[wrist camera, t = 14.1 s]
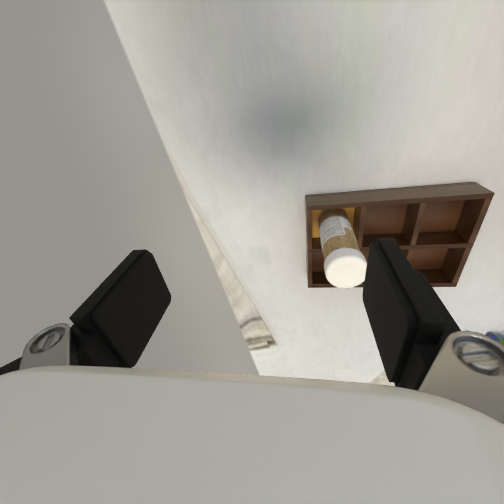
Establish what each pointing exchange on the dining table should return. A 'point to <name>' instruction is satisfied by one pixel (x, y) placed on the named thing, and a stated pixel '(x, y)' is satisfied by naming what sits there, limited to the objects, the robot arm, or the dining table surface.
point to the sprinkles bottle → (340, 250)
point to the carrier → (406, 226)
